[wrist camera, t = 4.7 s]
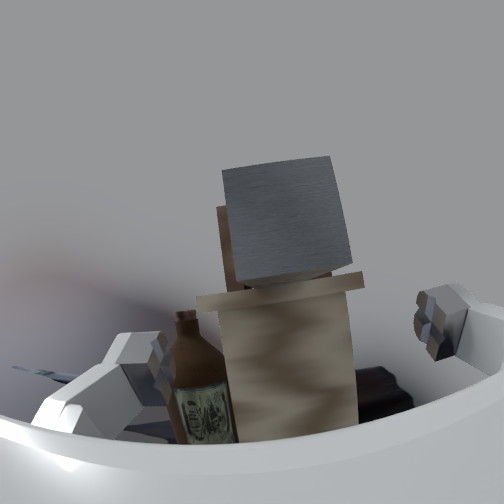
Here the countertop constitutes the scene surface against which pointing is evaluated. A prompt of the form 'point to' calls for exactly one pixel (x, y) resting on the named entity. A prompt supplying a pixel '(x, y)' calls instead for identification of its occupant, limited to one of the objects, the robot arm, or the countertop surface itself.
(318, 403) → the birch stand
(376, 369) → the countertop surface
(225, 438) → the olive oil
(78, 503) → the robot arm
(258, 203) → the grey long square bar
